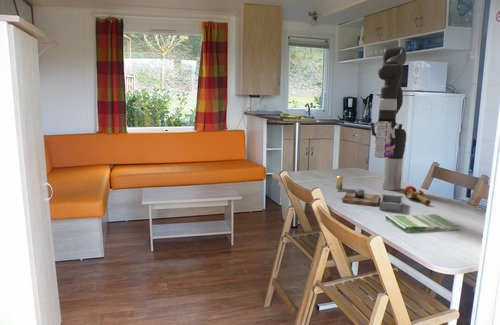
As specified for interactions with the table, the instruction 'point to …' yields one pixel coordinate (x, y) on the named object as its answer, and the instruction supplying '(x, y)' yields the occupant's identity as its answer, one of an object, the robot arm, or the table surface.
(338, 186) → the crank
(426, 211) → the table surface
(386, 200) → the tray
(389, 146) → the candy bar box
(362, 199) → the crank base
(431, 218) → the dish towel
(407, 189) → the kendama
